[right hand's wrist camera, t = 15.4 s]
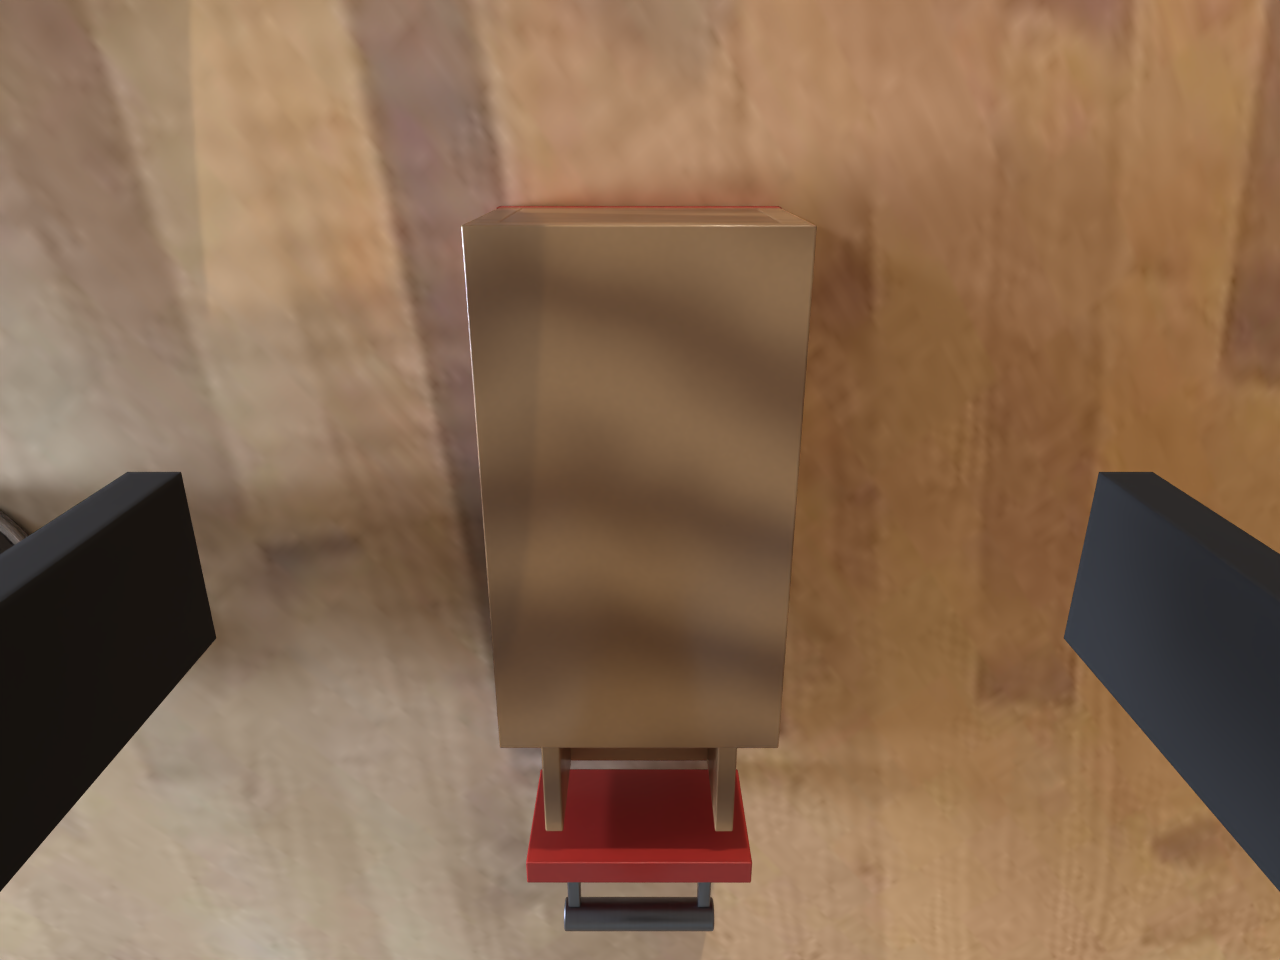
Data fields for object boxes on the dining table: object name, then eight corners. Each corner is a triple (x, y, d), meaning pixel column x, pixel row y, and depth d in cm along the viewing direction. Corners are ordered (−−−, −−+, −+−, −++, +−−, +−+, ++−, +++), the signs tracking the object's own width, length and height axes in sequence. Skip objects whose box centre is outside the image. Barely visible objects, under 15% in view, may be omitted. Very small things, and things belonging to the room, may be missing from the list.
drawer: (732, 863, 47) (745, 965, 41) (545, 863, 47) (532, 965, 41) (755, 438, 38) (776, 492, 32) (523, 438, 38) (502, 492, 32)
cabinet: (754, 639, 43) (778, 748, 35) (524, 639, 43) (499, 748, 35) (778, 206, 35) (817, 224, 27) (499, 206, 35) (460, 225, 27)
